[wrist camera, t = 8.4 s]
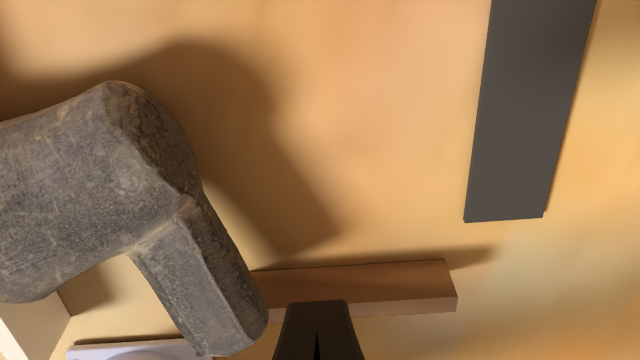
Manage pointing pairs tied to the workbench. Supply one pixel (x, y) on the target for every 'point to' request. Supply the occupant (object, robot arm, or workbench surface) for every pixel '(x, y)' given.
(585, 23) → the strip
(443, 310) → the brown wooden board
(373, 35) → the workbench surface
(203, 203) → the pipe
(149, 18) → the workbench surface
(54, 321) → the cream plank
